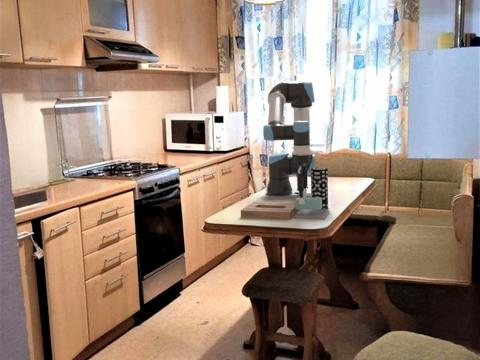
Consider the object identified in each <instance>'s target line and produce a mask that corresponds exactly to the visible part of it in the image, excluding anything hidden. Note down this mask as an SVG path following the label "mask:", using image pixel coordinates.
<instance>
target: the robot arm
mask: <svg viewBox="0 0 480 360" xmlns="http://www.w3.org/2000/svg"><path fill="white" fill-rule="evenodd" d="M313 87H314V86H313V82H312V81H310V80H295V81H282V82H279V83H277V84H276V85H275V86H273V87H272V88H271V90H270V91H269V92H268V95H267V103H268V104H269V106H268V119H267V125H266V124H265V125H264V126H263V129H262V133H263V140H264V141H272V142H273V141H293V147H292V151H291V154H289V152H286V151H285V152H278V153H274V154H270V155H269V157H268V184H267V186H266V194H267V195H269V196H287V195H291V194H293V187H292V183H291V182H290V176H296V182H297V183H296V185H297V186H296V187H297V188H296V191H297V192H298V198H299V204H305V198H308V197H307V196H308V193H307V189H309V186H308V176H309V175H311V168H315V165H316V154H314V153H313V150H312V149H311V134H310V133H311V132H310V129H311V127H310V124H311V123H310V108H311V107H312V106H313V103H315V95H314V88H313ZM285 104H290V107H291V108H292V109H293V124H290V123H289V124H284V110H285V109H284V105H285Z"/></svg>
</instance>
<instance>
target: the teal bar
mask: <svg viewBox="0 0 480 360" xmlns="http://www.w3.org/2000/svg"><path fill="white" fill-rule="evenodd" d="M294 203H295V209H296V210H299V211H301V210H312V211H322V210H321V209H322V197H314V198H311V197H307V198H305V204H299V197H296V198H294Z"/></svg>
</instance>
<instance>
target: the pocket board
mask: <svg viewBox="0 0 480 360" xmlns="http://www.w3.org/2000/svg"><path fill="white" fill-rule="evenodd" d="M299 212H300V210H296V209H295V202H283V201H281V202H279V201H278V202H277V201H252V202H251V203H249V204H248V205H246V206H245V207H244V208H242V209H240V218H243V219H244V217H245V218H247V219H248V218H249V219H271V220H291V219H292V218H293V217H295V216H296V215H297V214H298V213H299Z"/></svg>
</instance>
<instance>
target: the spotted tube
mask: <svg viewBox="0 0 480 360" xmlns="http://www.w3.org/2000/svg"><path fill="white" fill-rule="evenodd" d="M328 172H329V170H328V167H324V166H322V167H321V166H319V167H318V166H316V167H315V166H314V168H311V174H310V192H311V193H310V196H311V197H310V198H314V197H322V209H323V210H327V209H328V208H329V183H328V182H329V173H328Z"/></svg>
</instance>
